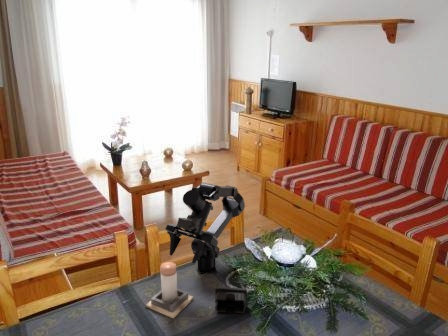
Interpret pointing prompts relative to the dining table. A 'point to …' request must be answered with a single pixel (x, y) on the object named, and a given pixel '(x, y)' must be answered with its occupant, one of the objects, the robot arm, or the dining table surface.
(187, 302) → the socket plate
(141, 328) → the dining table surface
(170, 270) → the white bottle
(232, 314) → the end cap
